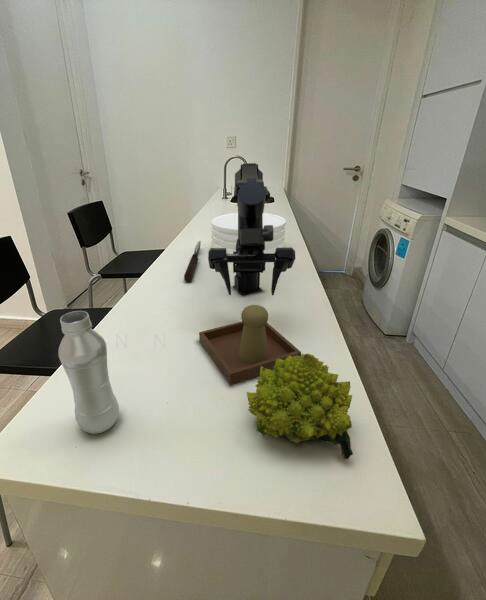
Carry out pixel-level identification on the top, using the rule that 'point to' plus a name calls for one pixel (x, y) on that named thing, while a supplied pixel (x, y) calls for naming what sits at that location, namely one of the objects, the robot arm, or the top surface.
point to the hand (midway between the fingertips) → (251, 294)
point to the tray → (227, 344)
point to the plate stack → (228, 232)
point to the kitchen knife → (192, 264)
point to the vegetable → (302, 402)
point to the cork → (253, 335)
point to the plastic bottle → (87, 373)
